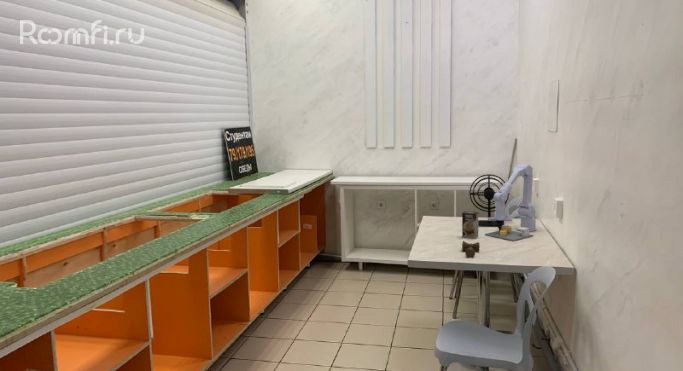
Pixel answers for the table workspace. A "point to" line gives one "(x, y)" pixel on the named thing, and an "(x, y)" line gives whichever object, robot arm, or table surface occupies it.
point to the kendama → (470, 248)
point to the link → (505, 230)
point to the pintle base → (512, 234)
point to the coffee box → (470, 224)
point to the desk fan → (488, 195)
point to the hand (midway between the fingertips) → (500, 232)
